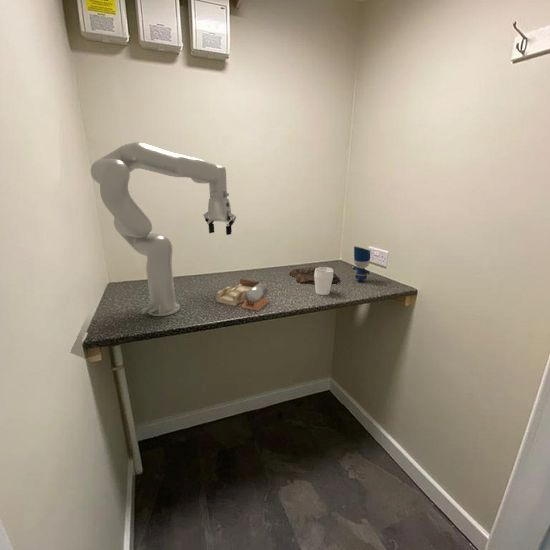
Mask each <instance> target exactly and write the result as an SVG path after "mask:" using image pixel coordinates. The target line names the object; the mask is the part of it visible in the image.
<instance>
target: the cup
mask: <svg viewBox="0 0 550 550" xmlns="http://www.w3.org/2000/svg"><path fill="white" fill-rule="evenodd" d="M316 267H317V268H315V273H314V278H315V285H314V288H315V293H316V294H317V295H320V296H327V295H330V292H331V287H332V285H331V284H332V280H333V273H334V269H333V268H331V267H329V266H327V267H326V266H316Z"/></svg>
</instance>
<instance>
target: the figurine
mask: <svg viewBox="0 0 550 550" xmlns="http://www.w3.org/2000/svg"><path fill="white" fill-rule="evenodd" d="M353 257H354V258H353V260H354V264H355V266H353V265H352V270H355V271H356V272H355V276H354V278H355V279H356V280H357V281H358V280H359V281H358V282H360V281H363V282H364V280H367V278H368V275H370V274H371V273H372V272H371V271H370V270H367V269H366V268H367V267H368V266H369V265H370V260H371V250H370V249H367V248H364V247H361V246H353Z"/></svg>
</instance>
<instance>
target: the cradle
mask: <svg viewBox="0 0 550 550" xmlns="http://www.w3.org/2000/svg"><path fill="white" fill-rule="evenodd" d="M269 301H270V300H268V299H267V296H266V295H265V296H264V297H262V298H261V299H259V300H258V301H257V302H255V303H254V304H249V303H247V302H246V300H244V301H243V304H241V308H243V309H247V310H251V311H255V312H259V311H260V310H261V309H263V308H264V307H265V306H266V305H267V304H269Z"/></svg>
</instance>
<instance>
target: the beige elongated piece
mask: <svg viewBox="0 0 550 550" xmlns="http://www.w3.org/2000/svg"><path fill="white" fill-rule="evenodd" d="M257 284H260V282H259V280H254V279H249V278H248V279H247V278H239V284H238V285H236V286H235V287H232V288H231V286H227V287H224V288H222V289H220V290H219V291H216V300H215V301H216V303H219V304H225V305H228V306H233V307H236V306H238V305H239V304H241V303H242V302H243V303H244V301H245V298H244V293H245V292H246V291H248V290H249V289H251V288H252V287H254V286H256V285H257Z"/></svg>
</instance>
